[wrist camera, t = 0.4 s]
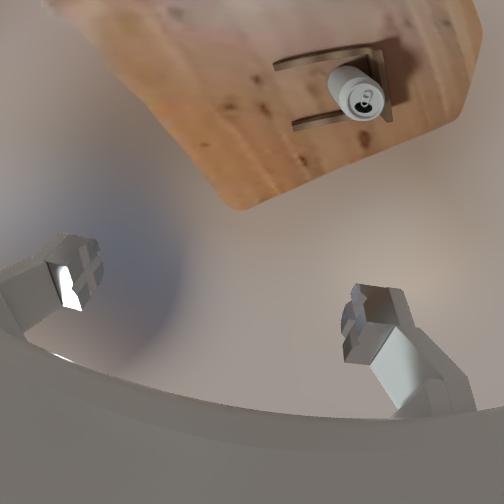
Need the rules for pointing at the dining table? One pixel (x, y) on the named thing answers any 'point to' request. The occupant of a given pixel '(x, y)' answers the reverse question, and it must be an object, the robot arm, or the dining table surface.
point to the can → (356, 93)
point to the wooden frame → (371, 52)
